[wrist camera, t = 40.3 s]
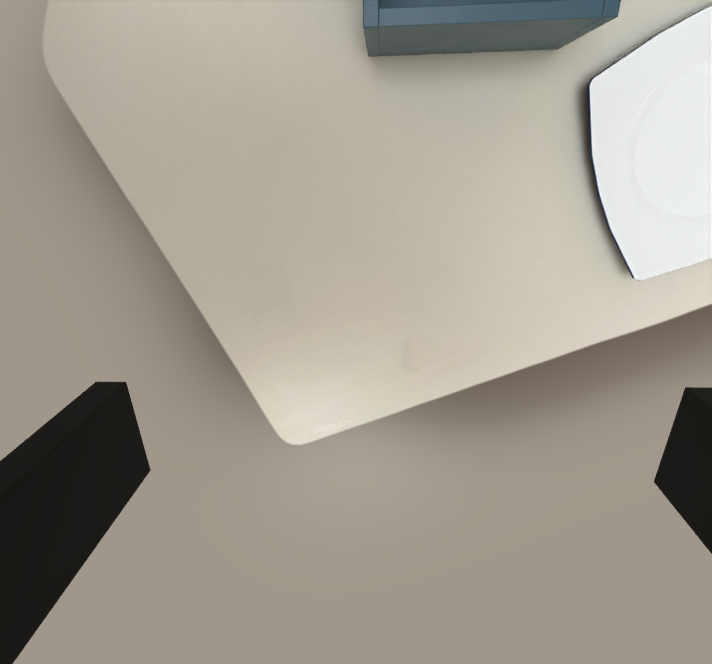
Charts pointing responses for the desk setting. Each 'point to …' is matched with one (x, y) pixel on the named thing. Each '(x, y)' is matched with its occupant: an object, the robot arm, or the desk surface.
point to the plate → (657, 148)
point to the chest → (479, 24)
